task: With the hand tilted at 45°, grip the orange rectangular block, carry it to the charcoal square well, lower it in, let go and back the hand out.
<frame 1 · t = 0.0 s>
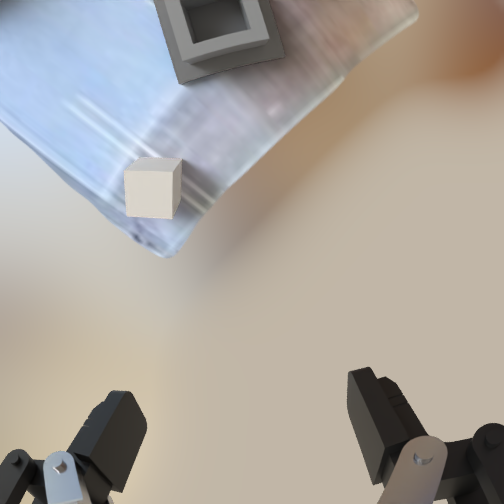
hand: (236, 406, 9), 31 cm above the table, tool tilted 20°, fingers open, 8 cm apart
well: (218, 24, 25), on the table
white cube: (160, 178, 36), on the table
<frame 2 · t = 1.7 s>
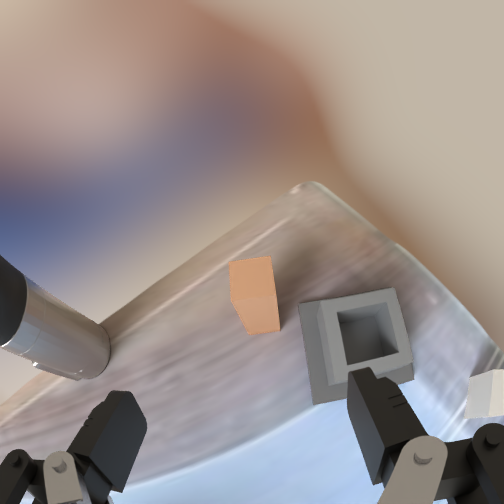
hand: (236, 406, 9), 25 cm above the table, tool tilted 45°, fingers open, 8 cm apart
well: (356, 344, 32), on the table
white cube: (480, 397, 24), on the table
orange rectangular block: (263, 318, 36), on the table
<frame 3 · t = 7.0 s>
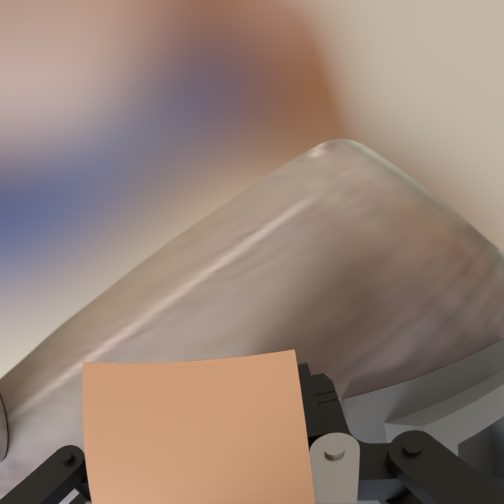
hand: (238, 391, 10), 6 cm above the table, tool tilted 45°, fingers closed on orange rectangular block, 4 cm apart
well: (449, 460, 10), on the table
orange rectangular block: (259, 428, 13), on the table, touching gripper
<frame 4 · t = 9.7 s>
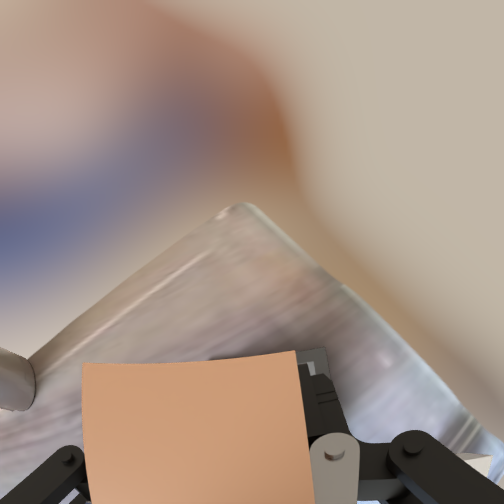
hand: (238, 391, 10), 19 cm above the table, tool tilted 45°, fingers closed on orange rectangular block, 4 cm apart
well: (270, 417, 25), on the table
white cube: (438, 477, 17), on the table
orange rectangular block: (259, 428, 13), point 14 cm above the table, touching gripper
when the fingers open (8 cm above the table, at t = 12.7 s): orange rectangular block drops 1 cm, resting on well.
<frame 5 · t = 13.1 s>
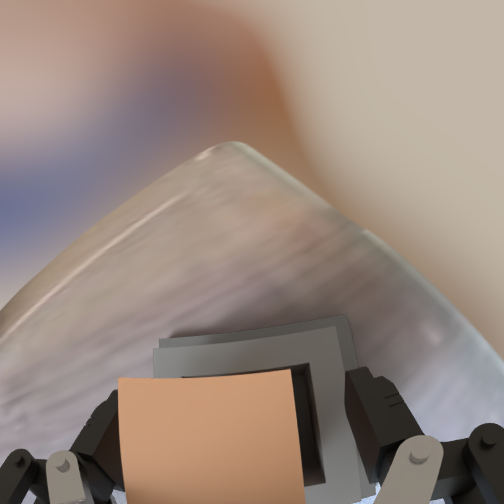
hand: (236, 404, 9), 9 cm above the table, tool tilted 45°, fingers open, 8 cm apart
well: (262, 425, 15), on the table
orange rectangular block: (260, 427, 15), point 1 cm above the table, touching well
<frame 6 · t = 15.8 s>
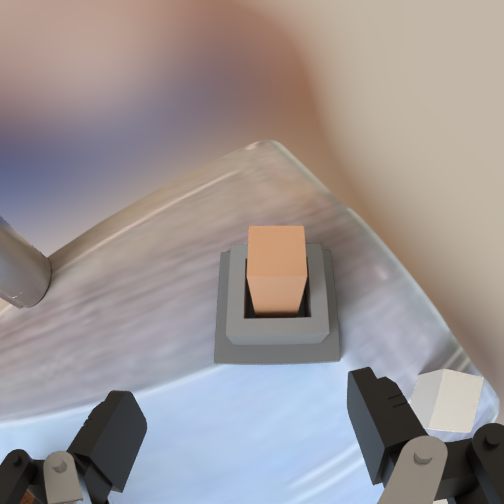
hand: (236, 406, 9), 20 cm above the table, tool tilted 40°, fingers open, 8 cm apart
well: (276, 306, 31), on the table
white cube: (429, 404, 24), on the table
orange rectangular block: (276, 304, 30), point 1 cm above the table, touching well
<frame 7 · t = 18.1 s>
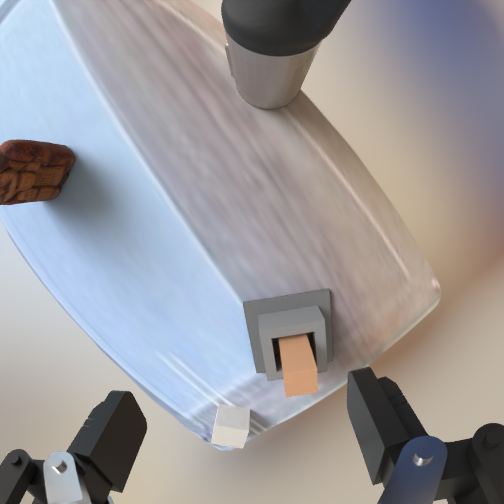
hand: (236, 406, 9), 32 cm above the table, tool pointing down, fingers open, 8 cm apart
well: (290, 332, 43), on the table
white cube: (231, 415, 48), on the table
wooden figurine: (55, 174, 38), on the table
orange rectangular block: (290, 335, 42), point 1 cm above the table, touching well
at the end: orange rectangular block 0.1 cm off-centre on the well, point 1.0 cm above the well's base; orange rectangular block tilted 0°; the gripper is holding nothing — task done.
